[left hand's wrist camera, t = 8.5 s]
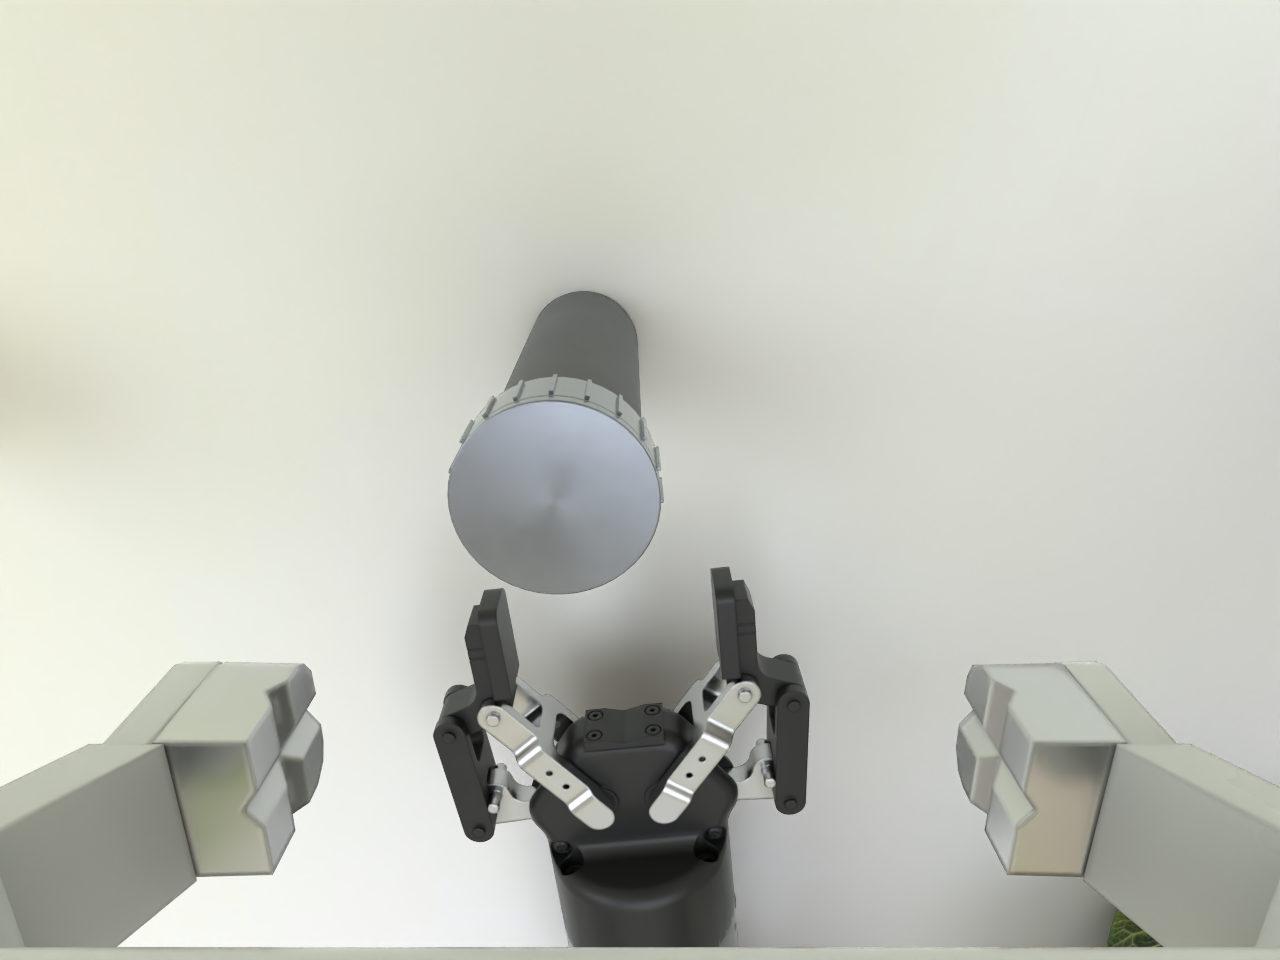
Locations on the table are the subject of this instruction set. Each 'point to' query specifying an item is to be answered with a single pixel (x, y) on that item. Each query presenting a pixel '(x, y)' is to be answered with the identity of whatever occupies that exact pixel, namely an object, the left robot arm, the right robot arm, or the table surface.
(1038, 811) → the left robot arm
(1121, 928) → the vegetable
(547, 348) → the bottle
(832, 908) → the table surface
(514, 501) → the lid
